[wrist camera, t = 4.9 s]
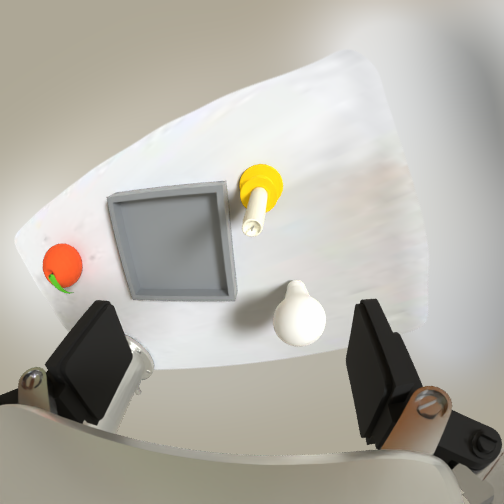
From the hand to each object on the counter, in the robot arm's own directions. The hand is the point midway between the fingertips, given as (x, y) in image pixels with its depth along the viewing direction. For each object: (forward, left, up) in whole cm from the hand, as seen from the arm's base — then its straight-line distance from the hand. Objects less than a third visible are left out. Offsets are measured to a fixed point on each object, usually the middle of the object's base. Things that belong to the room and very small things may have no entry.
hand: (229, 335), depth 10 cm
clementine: (-9, +31, -26) cm, 42 cm away
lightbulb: (-14, -4, -26) cm, 30 cm away
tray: (-7, +12, -26) cm, 30 cm away
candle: (0, 0, -26) cm, 26 cm away
